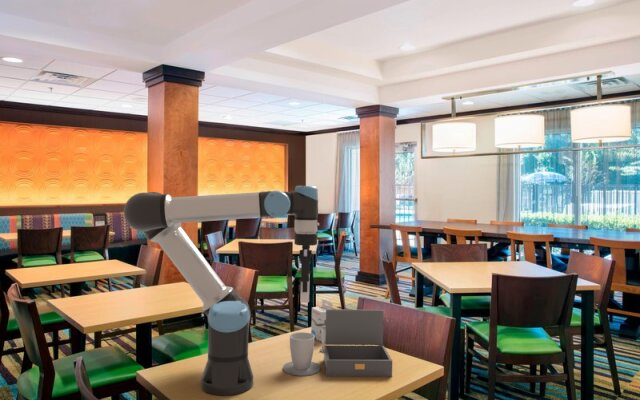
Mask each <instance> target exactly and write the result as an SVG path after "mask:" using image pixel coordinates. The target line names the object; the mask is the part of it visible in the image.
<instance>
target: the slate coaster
mask: <svg viewBox="0 0 640 400" xmlns="http://www.w3.org/2000/svg"><path fill="white" fill-rule="evenodd" d="M282 367H283V368H282V369H283V372H285V373H286V374H288V375H291V376H296V377H297V376H298V377H308V376H313V375H316V374H318V373H319V372H320V371H321V365H319V363H317V362H315V361H311V364H310V367H309V368H308V369H302V370H301V369H296V368H294V365H293V362H292V361H289V362H286V363H285V364H283V366H282Z"/></svg>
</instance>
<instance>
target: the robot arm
mask: <svg viewBox="0 0 640 400" xmlns="http://www.w3.org/2000/svg"><path fill="white" fill-rule="evenodd" d="M318 191H319V190H318V187H317V186H315V185H296V186H295V188H294V191H293V190H292V191H281V190H272V191H271V190H266V191H264V190H263V191H260V192H241V193H239V192H238V193H225V194H224V193H223V194H211V195H210V194H206V195H194V196H193V195H190V196H189V195H188V196H175V197H173V196H172V195H170V194H169V193H168V194H165V193H164V194H163V193H160V192H157V191H156V192H155V191H149V192H145V191H144V192H138V193H136V194H134V195H132V196H131V197H130V198H128V200H127V201H126V203H125V205H124V207H123V215H124V216H123V217H124V219H125V222H126V223H127V224H128V226H130V228H132V229H134V230H135V231H139V232H143V234H144V235H145V236H146V237H147V239H148V240H149V242H152V243H157V244H158V245H159V246H160V248H161V249H162V250H163V252H164V253H165V254H166V256H167V257H168V258H169V259H170V261H171V262H172V263H173V265H174V266H175V267H176V269H177V270H178V271H179V273H180V274H181V275H182V276H183V278H184V279H185V281H186V282H187V283H188V285H189V286H190V287H191V289H192V290H193V291H194V293H195V294H196V295H197V296H198V298H199V299H200V300H201V302H202V303H203V304H202V311H203V313H204V314H205V315H206V317H207V323H208V328H207V329H208V331H207V332H208V333H207V334H208V338H207V341H208V342H207V360H206V364H205V367H204V370H203V373H202V376H201V380H200V381H201V382H200V389H201V390H202V391H204V392H205V393H208V394H210V395H215V396H233V395H237V394H241V393H242V394H243V393H244V392H247V391H249V390H250V389H251V388H252V387H253V386H254V373H253V369H252V367H251V364H250V360H249V327H250V321H251V315H252V314H251V309H250V306H249V304H248V302H247V301H246V300H245V299H244V298H243V297H241V296H240V295H239V294H238V293H237V291H236V290H235V288H234V287H232V286H226V285H225V283H224V282H223V281H222V279H221V278H220V276H219V275H218V274H217V272H215V270H214V269H213V267H212V266H211V265H210V263H209V262H208V261H207V260H206V258H205V257H204V255H203V254H202V253H201V251H200V250H199V249H198V248H197V246H196V245H195V244H194V242H193V241H192V239H191V238H190V237H189V235H188V234H187V233H186V231H185V230H184V229H183V228H182V224H183V223H196V222H197V223H198V222H199V223H200V222H212V221H225V220H226V221H227V220H240V219H253V218H254V219H255V218H281V217H284V216H285V215H294V232H295V234H294V241H293V242H294V245H295V246H301V249H299V263H300V265H301V267H300V271H301V272H300V278H298V283H299V282H300V295H299V296H300V301H299V302H300V303H309V302H310V285H311V284H310V282H311V281H310V279H311V278H310V274H312V270H310V269H311V268H310V264H311V261H312V254H313V250H312V249H310V248H311V246H317V245H318V233H317V232H318V227H319V226H320V222H318V217H319V212H318V211H319V195H318V194H319V192H318Z"/></svg>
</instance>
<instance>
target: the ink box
mask: <svg viewBox="0 0 640 400" xmlns="http://www.w3.org/2000/svg"><path fill="white" fill-rule="evenodd" d="M333 305H334V304H333V303H332V302H330V301H329V300H327V299H323V298H322V299H321V306H314V307H311V325H310V326H311V328H310V329H311V332H310V333H311V334H313V335H314V336H315V339H314V340H317V341H318V340H319V342H320V341H321V342H320V343H322V326H326V309H333ZM325 336H326V329H324V343H325Z"/></svg>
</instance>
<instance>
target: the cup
mask: <svg viewBox="0 0 640 400" xmlns="http://www.w3.org/2000/svg"><path fill="white" fill-rule="evenodd" d="M315 340H316V339H315V336H314V335H313V334H311V332H305V331H304V332H301V331H300V332H294V333H291V334H290V335H289V349H290V350H289V351H290V356H291V357H290V358H291V362H293V365H294V368H296V369H301V370H302V369H308V368H309V367H310V364H311V362H312V360H313V355H314V350H315V349H314V348H315Z"/></svg>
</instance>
